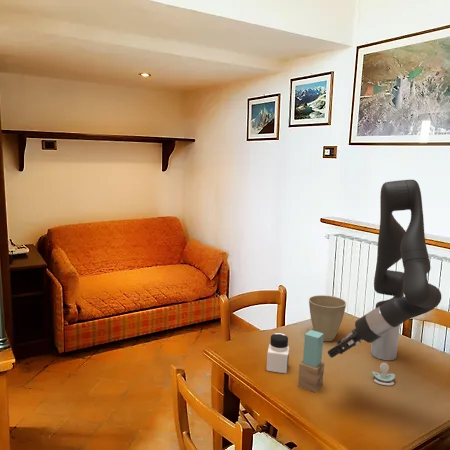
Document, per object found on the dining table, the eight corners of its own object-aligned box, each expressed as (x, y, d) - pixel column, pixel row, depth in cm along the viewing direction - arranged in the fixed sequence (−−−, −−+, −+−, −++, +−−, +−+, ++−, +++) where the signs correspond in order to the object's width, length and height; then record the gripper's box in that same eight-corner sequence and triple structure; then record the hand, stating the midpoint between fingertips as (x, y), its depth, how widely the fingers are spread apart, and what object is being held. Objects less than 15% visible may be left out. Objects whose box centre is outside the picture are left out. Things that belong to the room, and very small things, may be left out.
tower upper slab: (306, 368, 143) (307, 357, 142) (323, 374, 140) (324, 362, 139) (298, 375, 138) (299, 363, 137) (315, 381, 135) (316, 369, 134)
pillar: (308, 358, 141) (310, 329, 140) (321, 362, 139) (323, 333, 137) (302, 363, 138) (305, 334, 136) (315, 367, 135) (318, 338, 134)
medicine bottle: (287, 373, 146) (289, 341, 144) (266, 371, 148) (268, 338, 146) (288, 364, 153) (290, 332, 151) (268, 361, 155) (270, 330, 153)
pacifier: (396, 388, 141) (393, 378, 146) (398, 370, 139) (395, 361, 145) (373, 385, 142) (370, 375, 148) (375, 368, 141) (372, 359, 146)
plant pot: (342, 332, 183) (345, 297, 180) (343, 347, 168) (347, 309, 166) (306, 328, 186) (309, 293, 183) (305, 342, 172) (308, 304, 169)
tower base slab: (305, 379, 144) (306, 368, 143) (322, 385, 140) (323, 373, 140) (298, 386, 139) (298, 375, 138) (315, 393, 135) (316, 381, 135)
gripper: (374, 307, 132) (335, 332, 140) (359, 320, 120) (318, 347, 129) (390, 327, 130) (349, 352, 138) (377, 343, 118) (333, 369, 127)
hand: (334, 349), depth 133 cm, fingers open, 8 cm apart
